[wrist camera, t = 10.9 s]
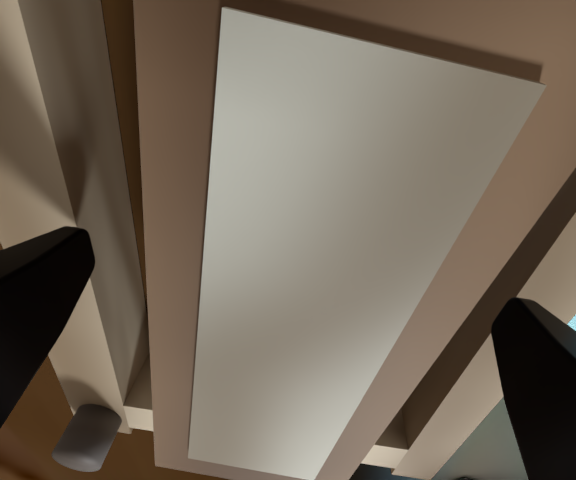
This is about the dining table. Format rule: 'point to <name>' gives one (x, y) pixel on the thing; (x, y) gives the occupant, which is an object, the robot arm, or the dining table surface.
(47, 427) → the dining table surface
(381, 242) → the frame
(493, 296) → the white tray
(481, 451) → the dining table surface
